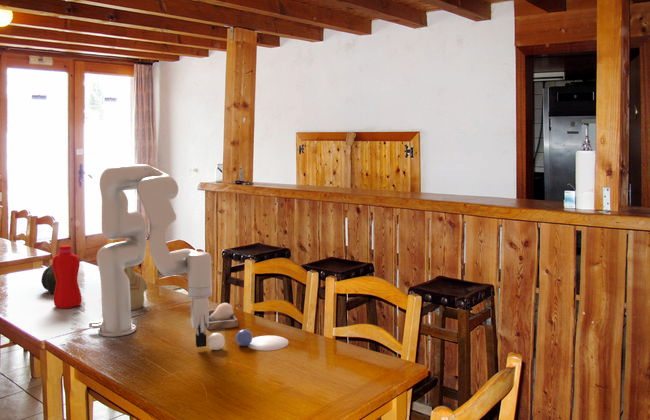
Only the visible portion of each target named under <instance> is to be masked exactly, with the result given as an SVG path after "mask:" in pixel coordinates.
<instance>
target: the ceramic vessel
mask: <svg viewBox="0 0 650 420" xmlns="http://www.w3.org/2000/svg"><path fill="white" fill-rule="evenodd" d="M124 271H125V273H126V275H127V276H128V278H129V282H130V302H131V311H136V310H139V309H141V308H142V307H143V305H144V303H145V291H146V290H147V289H148V285H147V282H146V279H145V278H144V276H143V275H142V274H140V273H138V272H136V271H135V266H132V267H128V268H125V269H124Z"/></svg>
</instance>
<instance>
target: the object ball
mask: <svg viewBox="0 0 650 420" xmlns="http://www.w3.org/2000/svg"><path fill="white" fill-rule="evenodd" d="M252 338H254V337H253V334H252V332H251V330H249V329H246V328H244V329H240V330H239V331H237V333H236V334H235V341H236V343H237V344H238V345H239V346H241V347H248V346H247V345H249V344H250V343H251V342H252Z"/></svg>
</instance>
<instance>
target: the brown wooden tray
mask: <svg viewBox="0 0 650 420" xmlns="http://www.w3.org/2000/svg"><path fill="white" fill-rule="evenodd" d="M215 310H216V308H214V309H209V316H210V315H211V314H212V313H214V311H215ZM238 323H239V320H238V318H237V316H236V315H235V313H234V312H233V315H232V317H231V318H230V319H228V320H220V321H214V322H209V326H208V327H206V331H208V330H218V329H227V328H228V329H229V328H237V327H238V326H239V325H238Z"/></svg>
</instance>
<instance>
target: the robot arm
mask: <svg viewBox="0 0 650 420" xmlns="http://www.w3.org/2000/svg"><path fill="white" fill-rule="evenodd" d="M128 190H136V191H137V195H138V197H139V201H140V202H141V205H142V207H143V210H144V211H145V214H146V216H147V219H148V221H149V223H150V227H151V229H150V232H149V237H148V251H149V253H150V258H151V259H152V261H153V263H154V265H155V267H156V269H157V271H158V272H159V273H160V274H161V275H162V276H164V277H173V276H177V275H180V274H183V273H187V297H188V298H190V322H191V326H192V328H193V329H195V347H197V348H203V347H204V348H205V347H207V328H206V327H208V326H209V310H210V308H209V307H210V305H209V304H210V303H209V297H211V296H212V295H213V284H212V283H213V282H212V281H213V280H212V279H213V278H212V256H211V254H210V253H209V252H207V251H197V250H195V249H191V248H182V249H175V250H173V251H170V249H169V247H168V245H167V241H166V233H167V231H168V228H170V226H172V225H173V224H174V223H175V222H176V220H177V214H176V213H175V210H174V207H173V205H172V203H171V200H174V199H176V197H177V195H178V194H179V185H178V183H177V181H176V180H175V179H174V178H173V177H172V176H171V175H169V174H168V173H165V172H163V171H162V170H160V169H158V168H156V167H154V166H152V165H149V164H143V163H140V164H139V163H137V164H119V165H114V166H109V167H107V168H106V169H105V170H103V171H102V174H101V175H100V178H99V191H100V195H101V232H102V235H103V237H104V238H105V239H106V240H109V241H116V240H122V239H123V241H118V242H112V243H108V244H105V245H103V246H102V247H100V249H98V251H97V253H96V263H97V266H98V271H99V278H100V291H101V293H100V294H101V310H102V311H101V312H102V313H101V314H102V317H101V319H100V320H98V321H89V322H88V325H89V326H88V327H89V328H92V329H94V330H95V329H98V331H97V332H98V334H99V335H100V336H103V337H106V338H107V337H108V338H109V337H113V338H116V337H122V336H127V335H130V334H133V333H134V332H135V331H136V330H137V325H135V324H134V323H132V310H131V302H130V282H129V278H128V276H127V275H126V273H125V271H124V269H125V268H128V267H132V266H134V267H136V266H138V265H141V264H142V263H143V262H144V260H145V259H146V255H147V222H146V219H145V216H144V215H143V213H141V212H140V211H139V210H135V209H130V210H129V201H128V197H127V194H126V193H125V191H128Z"/></svg>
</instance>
